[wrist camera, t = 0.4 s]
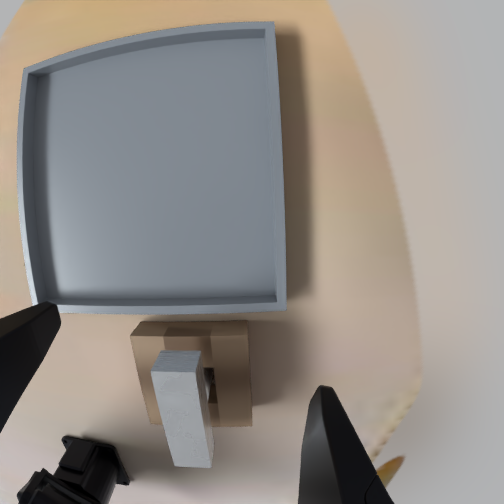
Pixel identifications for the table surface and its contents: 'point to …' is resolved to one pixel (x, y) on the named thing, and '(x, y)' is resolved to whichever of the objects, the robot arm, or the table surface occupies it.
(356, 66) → the table surface
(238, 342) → the socket block
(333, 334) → the table surface
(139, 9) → the table surface
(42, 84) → the tray
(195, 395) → the gray rectangular block
